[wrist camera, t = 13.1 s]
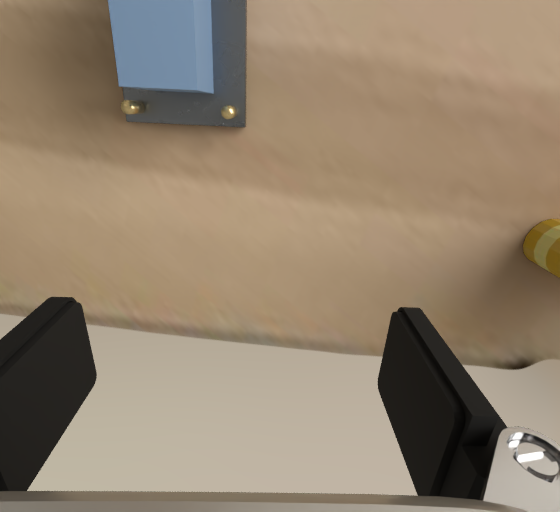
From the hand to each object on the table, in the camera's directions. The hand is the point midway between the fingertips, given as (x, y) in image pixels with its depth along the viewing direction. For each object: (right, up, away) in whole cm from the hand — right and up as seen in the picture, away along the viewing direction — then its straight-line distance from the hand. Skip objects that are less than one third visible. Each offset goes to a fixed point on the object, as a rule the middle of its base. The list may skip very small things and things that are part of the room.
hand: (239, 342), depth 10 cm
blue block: (-8, +24, +21) cm, 33 cm away
